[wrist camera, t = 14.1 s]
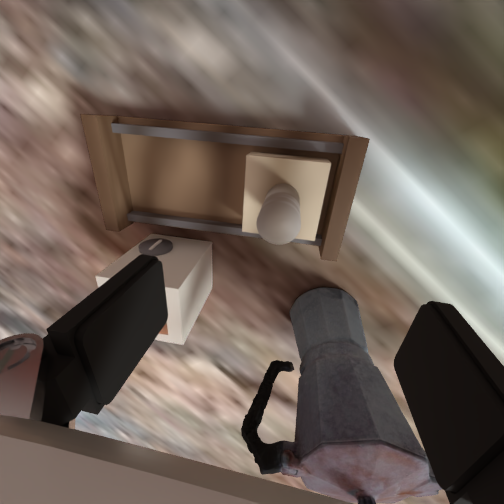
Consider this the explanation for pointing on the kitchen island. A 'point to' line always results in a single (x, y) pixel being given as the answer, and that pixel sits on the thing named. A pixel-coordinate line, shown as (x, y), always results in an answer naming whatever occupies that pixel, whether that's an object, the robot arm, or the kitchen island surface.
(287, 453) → the moka pot
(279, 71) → the kitchen island surface
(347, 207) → the rail bed
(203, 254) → the white knob block
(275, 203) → the square knob plate
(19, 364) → the robot arm
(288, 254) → the kitchen island surface
